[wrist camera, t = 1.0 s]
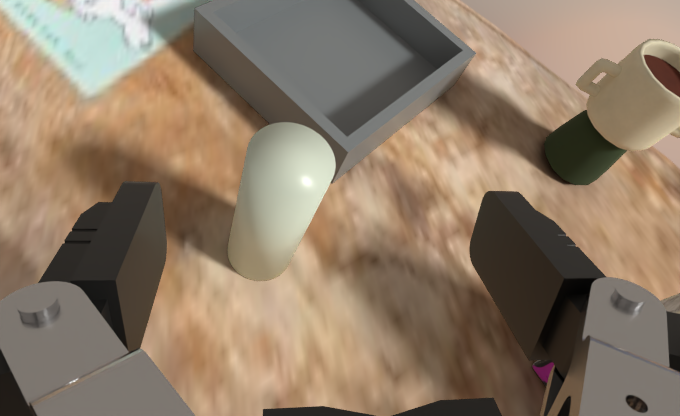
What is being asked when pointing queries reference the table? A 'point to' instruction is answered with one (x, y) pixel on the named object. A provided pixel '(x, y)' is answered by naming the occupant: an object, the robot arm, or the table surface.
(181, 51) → the table surface
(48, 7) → the table surface
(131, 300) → the robot arm
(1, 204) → the table surface
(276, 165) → the canister
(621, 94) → the character mug
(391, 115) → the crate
